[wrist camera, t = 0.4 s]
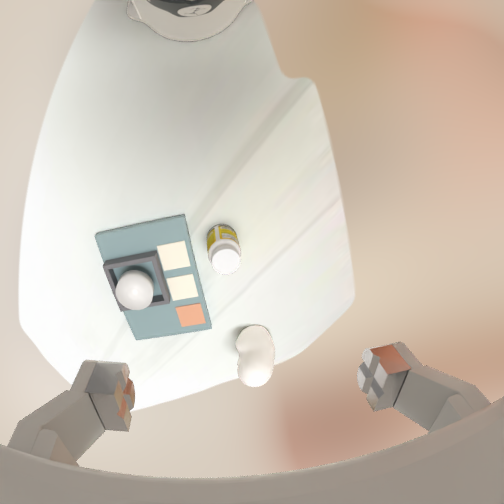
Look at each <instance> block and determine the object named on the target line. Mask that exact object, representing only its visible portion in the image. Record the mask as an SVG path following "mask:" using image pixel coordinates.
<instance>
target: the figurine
mask: <svg viewBox="0 0 504 504" xmlns="http://www.w3.org/2000/svg"><path fill="white" fill-rule="evenodd" d="M235 346H236V348H237V350H238V353H239V359H238V363H237V365H238V376H239V378H240V380H241V381H242V382H243V383H244V384H245V385H247V386H250V387H258V386H261V385H263V384H265V383H266V382H267V381H268V380H269V378H270V377H271V374H272V371H273V368H274V359H275V347H274V343H273V340H272V338H271V335H270V334H269V332H268V331H267V330H266V328H264V327H262V326H259V325H252V326H249V327H246V328H245V329H243V330H242V331H241V333H240V334H239V337H238V338H237V340H236V343H235Z"/></svg>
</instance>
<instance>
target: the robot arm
mask: <svg viewBox="0 0 504 504" xmlns="http://www.w3.org/2000/svg"><path fill="white" fill-rule="evenodd" d="M252 1H253V0H128V6H127V15H128V17H129V18H131V19H133V20H136V21H139V22H143V23H145V24H147V25H148V26H149V27H150V28H151V29H152V30H153V31H155V32H156V33H158V34H159V35H161V36H163V37H165V38H168V39H171V40H176V41H198V40H203V39H206V38H209V37H212V36H214V35H216V34H218V33H220V32H221V31H223V30H224V29H226V28H227V27H228V26H229V25H230V24H231V23H232V22H233V21H234V20H235V18H236V17H237V15H238V13H239V12H240V10H241V9H242V8H243V7H244V6H245V5H247V4H249V3H250V2H252ZM362 359H363V361H364V362H363V363H362V364H361V365H360V366H359V369H358V373H357V377H358V378H357V380H358V384H359V387H360V389H361V390H362V391H363V392H365V393H367V394H368V395H367V401H368V403H369V405H370V406H371V408H372V409H373V411H378V410H382V409H386V408H390V407H393V408H394V409H396V410H398V411H399V412H400V413H402V414H404V415H405V416H407V417H408V418H410V419H411V420H413V421H414V422H416V423H418V424H419V425H420V426H422V427H423V428H425V429H426V430H428V431H429V432H428V433H427V434H426V435H423V436H421V437H418V438H415V439H413V440H410V441H407V442H404V443H402V444H399V445H396V446H393V447H390V448H387V449H383V450H380V451H377V452H374V453H370V454H367V455H363V456H359V457H356V458H352V459H348V460H344V461H340V462H335V463H331V464H326V465H321V466H316V467H311V468H306V469H301V470H293V471H287V472H280V473H272V474H263V475H252V476H240V477H222V478H171V477H170V478H169V477H153V476H140V475H131V474H121V473H114V472H107V471H100V470H95V469H89V468H84V467H79V465H78V464H77V462H76V461H77V460H78V459H79V458H80V457H81V456H82V455H83V454H84V453H85V451H86V450H87V449H89V448H90V446H91V445H92V444H93V443H94V442H95V441H96V440H97V439H98V438H99V437H100V436H101V435H102V434H103V433H104V432H105V430H114V431H129V427H130V422H131V414H130V410H131V409H132V408H133V407H134V403H135V390H134V385H133V382H132V381H131V380H130V379H129V378H128V377H129V373H130V371H129V368H128V365H127V364H126V363H121V362H108V361H94V360H85V361H83V363H82V365H81V367H80V369H79V371H78V374H77V376H76V378H75V380H74V382H73V385H72V387H71V389H70V391H68V390H66V391H64V392H63V393H61V394H60V395H58V396H57V397H55V398H54V399H52V400H51V401H49V402H48V403H46V404H45V405H43V406H42V407H40V408H39V409H37V410H35V411H34V412H33V413H31V414H29V415H28V416H26V417H25V418H23V419H22V420H20V421H19V422H18V425H17V427H16V429H15V431H14V433H13V435H12V437H11V440H10V442H9V444H8V446H4V445H1V444H0V504H504V397H502V398H501V399H499V400H497V401H495V402H493V403H492V404H491V403H490V402H489V401H488V399H487V398H486V397H485V396H484V395H483V394H482V393H481V392H480V391H479V389H478V388H477V387H476V386H475V385H473V384H470V383H468V382H465V381H463V380H460V379H458V378H456V377H453V376H450V375H448V374H446V373H443V372H441V371H439V370H436V369H434V368H431V367H429V366H427V365H426V366H423V365H422V364H421V363H420V362H419V361H418V359H417V358H416V357H415V356H414V355H413V354H412V352H411V351H410V350H409V349H408V348H407V347H406V345H405V344H404V343H402V342H396V343H392V344H389V345H383V346H377V347H372V348H366V349H365V350H364V352H363V354H362Z"/></svg>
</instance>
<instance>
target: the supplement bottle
mask: <svg viewBox="0 0 504 504" xmlns="http://www.w3.org/2000/svg"><path fill="white" fill-rule="evenodd" d="M207 250H208V258H209V261H210V262H211V264H212V267H213V269H214V270H215V271H216V272H218V273H219V274H223V275H228V274H232V273H234V272H235V271H236V270H237V269H238V268H239V266H240V262H241V260H240V257H241V249H240V246H239V242H238V239H237V236H236V233H235V231H234V230H233V229H232V228H231V227H230V226H228V225H217V226H215V227H213V228H212V229H211V230H210V231H209V232H208V234H207Z"/></svg>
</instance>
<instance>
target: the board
mask: <svg viewBox="0 0 504 504" xmlns="http://www.w3.org/2000/svg"><path fill="white" fill-rule="evenodd" d="M95 239H96V242H97V245H98V248H99V250H100V253H101V256H102V259H103V262H104V265H103V268H104V271H105V274H106V276H107V279H108V281H109V284H110V286H111V289H112V291H113V294H114V296H115V299H116V301H117V304H118V306H119V308H120V311H123V312H124V315H125V317H126V319H127V321H128V324H129V326H130V328H131V330H132V333H133V335H134V337H135V339H136V340H142V339H150V338H157V337H164V336H170V335H177V334H183V333H189V332H196V331H202V330H207V329H212V326H211V321H210V318H209V314H208V310H207V306H206V302H205V299H204V295H203V291H202V287H201V283H200V279H199V275H198V271H197V267H196V263H195V258H194V254H193V250H192V246H191V241H190V237H189V233H188V228H187V224H186V219H185V215H179V216H174V217H169V218H164V219H159V220H154V221H149V222H145V223H140V224H135V225H131V226H126V227H122V228H117V229H113V230H108V231H104V232H100V233H97V234H96V235H95ZM129 270H139V271H142V272H144V273H146V274H147V275H148V276H149V277H150V278H151V279H152V281H153V283H154V293H153V298H152V302H151V303H150V305H149V306H148V307H146V308H144V309H142V310H131V309H128V308H126V307H124V306H123V305H122V304H121V303H120V302H119V301H118V299H117V297H116V293H115V290H116V286H117V284H118V281H119V279H120V277H121V275H122V274H123V273H125V272H127V271H129Z"/></svg>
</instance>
